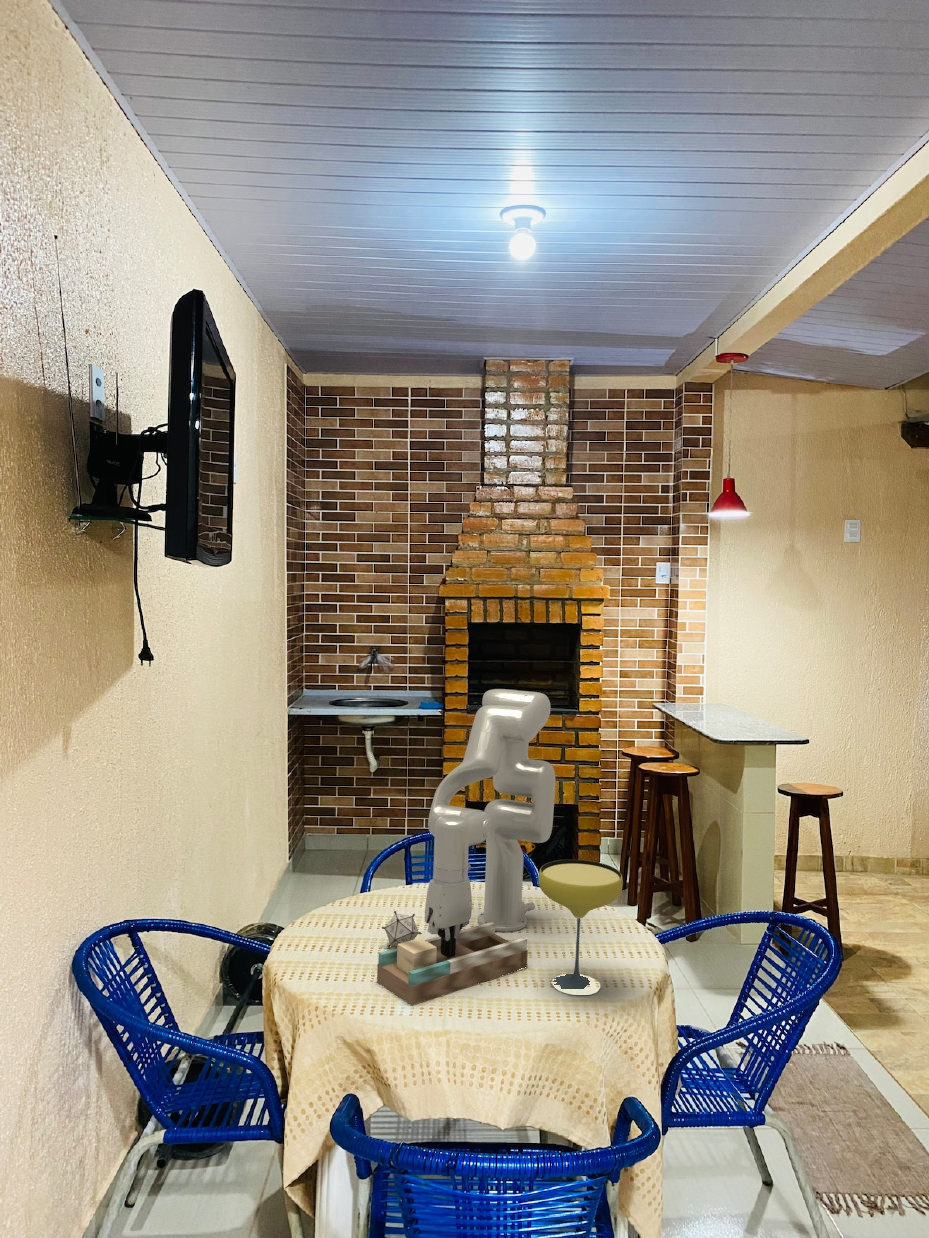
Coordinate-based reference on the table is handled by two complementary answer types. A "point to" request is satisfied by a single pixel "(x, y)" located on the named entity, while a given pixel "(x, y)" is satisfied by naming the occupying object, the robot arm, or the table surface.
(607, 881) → the cocktail glass
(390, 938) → the game die
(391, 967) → the trap deck
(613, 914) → the table surface
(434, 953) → the maple block
